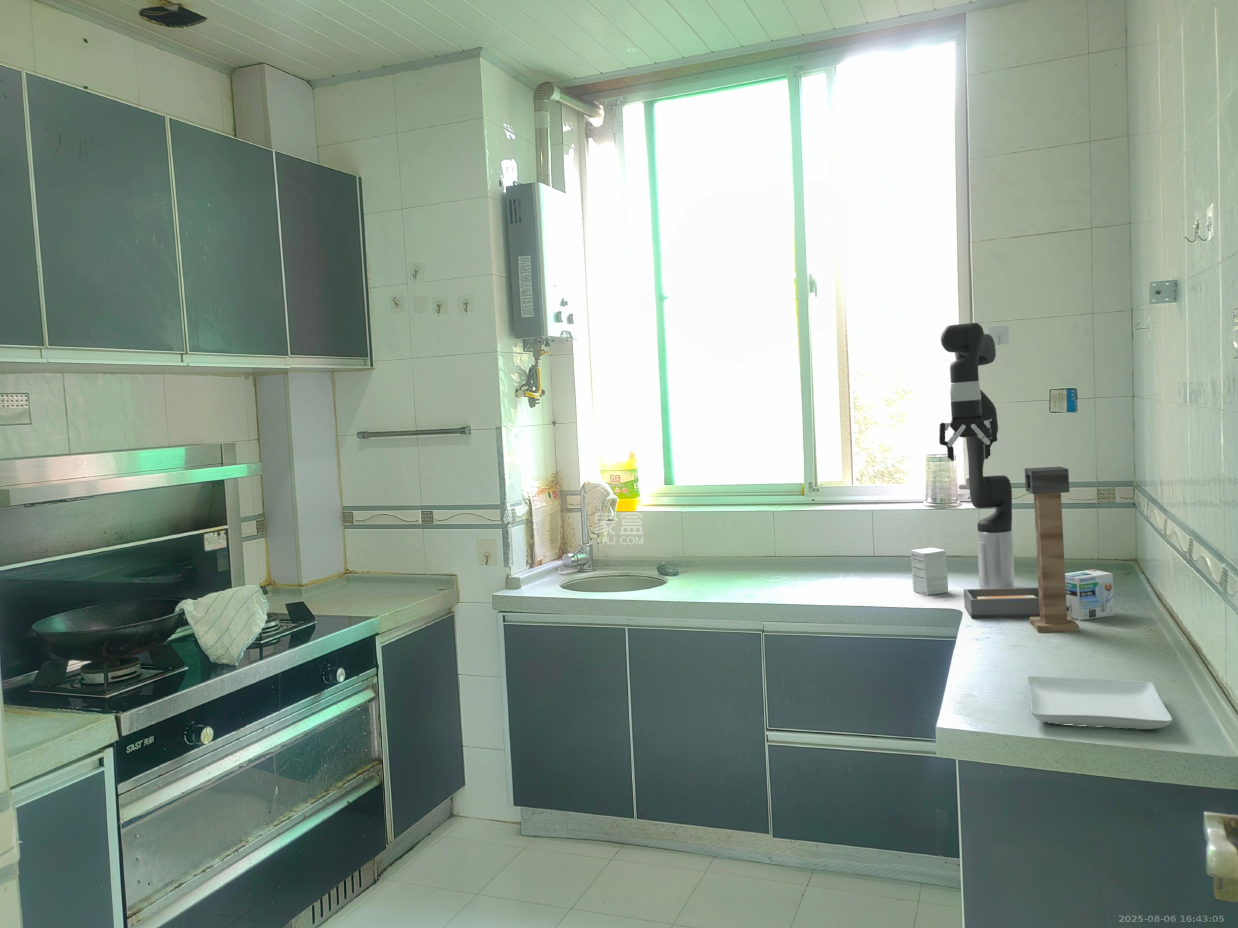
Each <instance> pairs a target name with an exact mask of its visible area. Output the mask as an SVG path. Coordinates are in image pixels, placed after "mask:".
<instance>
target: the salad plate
mask: <svg viewBox="0 0 1238 928" xmlns="http://www.w3.org/2000/svg"><path fill="white" fill-rule="evenodd" d="M1026 684H1027V687H1028V691H1029V700H1030V702H1029V703H1030V704H1029V708H1030V713H1031V714H1032V716H1033V717H1034V718H1035V719H1036V720H1038V721H1040V722H1042V721H1043V723H1045V722H1048V723H1047V724H1050V723H1058V724H1073V725H1086V726H1103V727H1119V728H1136V729H1135V730H1156V729H1160V728H1165V727H1168V726H1169V725H1170V724H1171V723H1172V722H1173V717H1172V715H1171V713H1170V712H1169V710H1168V709H1167V707H1166V706H1165V703H1164V702H1163V700H1162V699H1161V697H1160V695H1159V693H1158V690H1157V689H1156V687H1155V685H1154V684H1153V683H1152V682H1150V681H1141V680H1128V679H1127V680H1124V679H1113V678H1112V679H1109V678H1093V677H1090V678H1089V677H1070V676H1067V677H1066V676H1063V677H1062V676H1037V675H1035V676H1034V675H1029V676H1027V677H1026ZM1119 728H1118V729H1119Z"/></svg>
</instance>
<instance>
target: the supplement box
mask: <svg viewBox="0 0 1238 928" xmlns="http://www.w3.org/2000/svg"><path fill="white" fill-rule="evenodd" d="M910 561H911V562H910V563H911V573H912V590H913V592H914V593H917V592H918V594H921V595H924V594H925V595H924V596H933V595H938V594H946V593H949V581H948V580H949V579H948V568H947V567H948V566H947V551H946V550H945V549H941V548H936V547H927V548H920V549H918V548H917V549H911V550H910Z"/></svg>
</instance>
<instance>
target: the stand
mask: <svg viewBox="0 0 1238 928" xmlns="http://www.w3.org/2000/svg"><path fill="white" fill-rule="evenodd" d="M1069 475H1070V474H1069V468H1066V467H1063V466H1048V467H1047V466H1044V467H1029V468H1028V467H1027V468H1024V480H1025V481H1024V485H1025V486H1024V487H1025V492H1028V493H1029V494H1032V495H1033V506H1034V508H1033V509H1034V524H1035V525H1034V526H1035V527H1034V528H1035V540H1036V541H1035V542H1036V543H1035V544H1036V545H1035V546H1036V562H1037V563H1036V564H1037V584H1038V585H1037V587H1039V606H1040V617H1030V618H1029V624H1030V625H1031V626H1032V627H1033V629H1035V631H1036V632H1038V633H1050V632H1051V633H1059V632H1061V633H1063V632H1064V633H1065V632H1067V633H1068V632H1069V633H1070V632H1072V633H1073V632H1074V633H1075V632H1080V625H1079V624H1078V623H1077V622H1076V621H1075V620H1074V618H1070V617H1069V616H1067V604H1066V584H1065V573H1066V567H1065V566H1066V565H1065V547H1064V546H1065V545H1064V529H1063V524H1064V523H1063V510H1062V507H1063V505H1062V504H1063V503H1062V493H1065V494H1066V493H1070V480H1069V479H1070V476H1069Z"/></svg>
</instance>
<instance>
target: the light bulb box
mask: <svg viewBox="0 0 1238 928" xmlns="http://www.w3.org/2000/svg"><path fill="white" fill-rule="evenodd" d="M1065 584H1066V604H1067V616H1069V617H1070V618H1072V619H1073V620H1074V619H1075V620H1079V621H1086V620H1093V619H1097V618H1106V617H1112V616H1115V600H1114V599H1115V597H1114V596H1115V595H1114V594H1115V593H1114V573H1113V572H1112V573H1111V572H1106V571H1103V570H1097V569H1088V570H1087V569H1086V570H1080V571H1079V570H1078V571H1074V572H1068V573H1066V572H1065Z"/></svg>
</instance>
